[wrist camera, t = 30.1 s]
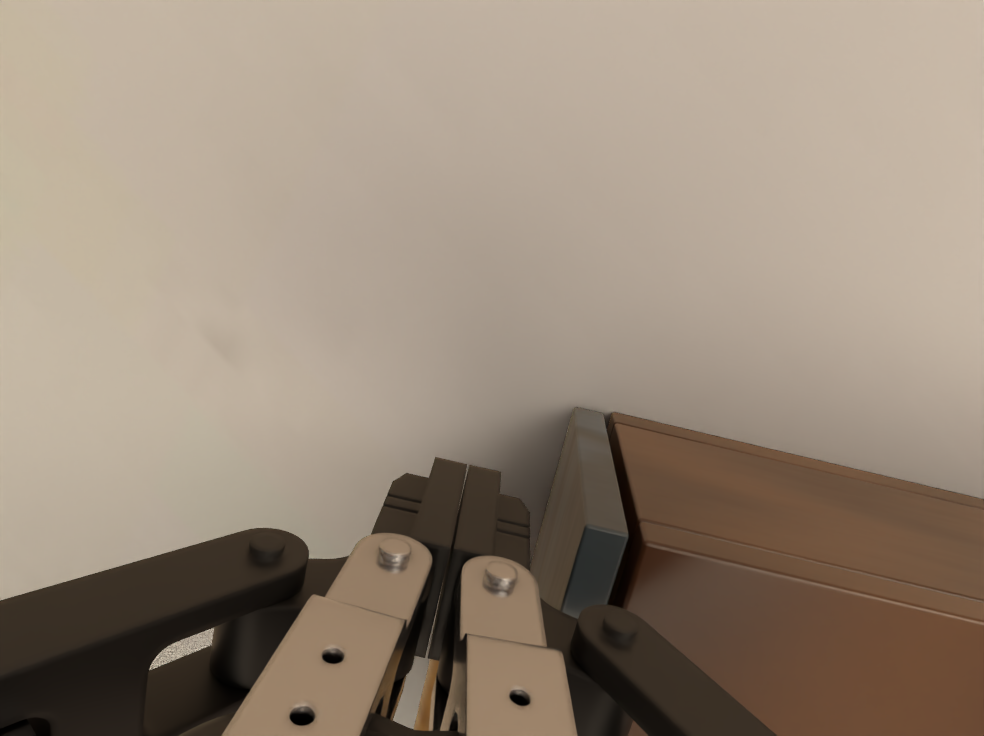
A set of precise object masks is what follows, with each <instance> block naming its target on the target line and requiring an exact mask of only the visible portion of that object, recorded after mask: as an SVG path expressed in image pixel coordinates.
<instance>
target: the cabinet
mask: <svg viewBox="0 0 984 736" xmlns="http://www.w3.org/2000/svg"><path fill="white" fill-rule="evenodd" d="M607 434H608V439H609V443H610V448H611V453H612V458H613V462H614V467H615V472H616V477H617V482H618V486H619V491H620V496H621V501H622V505H623V510H624V515H625V520H626V524H627V529H628V534H629V538H628V541H627V544H626V546H627V551H628V554H629V555H628V558H627V561H626V564H625V567H624V570H623V574H622V577H621V580H620V583H619V586H618V589H617V592H616V595H615V599H614V602H613V605H612V606H617V607H620V608H623V609H625V610H628V611H630V612H632V613H634V614H636V615H637V616H639V617H640V618H642V619H643V620H644V621H646V622H647V623H648V624H649V625H650V626H651V627H653V628H654V629H655V630H656V631H657V632H658V633H659V634H661V635H662V636H663V637H664V638H665V639H666V640H668V641H669V642H670V643H671V644H672V645H673V646H675V647H676V648H677V649H678V650H679V651H680V652H681V653H683V654H684V655H685V656H686V657H687V658H688V659H690V660H691V661H692V662H693V663H694V664H695V665H696V666H698V667H699V668H700V669H701V670H702V671H703V672H705V673H706V674H707V675H708V676H709V677H710V678H711V679H713V680H714V681H715V682H716V683H717V684H718V685H720V686H721V687H722V688H723V689H724V690H725V691H726V692H728V693H729V694H730V695H731V696H732V697H733V698H735V699H736V700H737V701H738V702H739V703H740V704H741V705H743V706H744V707H745V708H746V709H747V710H748V711H750V712H751V713H752V714H753V715H754V716H755V717H756V718H758V719H759V720H760V721H761V722H762V723H763V724H765V725H766V726H767V727H768V728H769V729H770V730H772V731H773V732H774V733H775V734H776V735H777V736H984V499H979V498H975V497H971V496H967V495H962V494H958V493H954V492H950V491H946V490H941V489H937V488H933V487H929V486H924V485H920V484H916V483H912V482H907V481H903V480H899V479H895V478H891V477H886V476H882V475H878V474H874V473H869V472H865V471H861V470H857V469H853V468H848V467H844V466H840V465H836V464H831V463H827V462H823V461H819V460H814V459H810V458H806V457H802V456H798V455H793V454H789V453H785V452H781V451H776V450H772V449H768V448H764V447H759V446H755V445H751V444H747V443H743V442H738V441H734V440H730V439H726V438H721V437H717V436H713V435H709V434H705V433H700V432H696V431H692V430H688V429H683V428H679V427H675V426H671V425H666V424H662V423H658V422H654V421H650V420H645V419H641V418H637V417H633V416H628V415H624V414H620V413H616V412H613V413H612V414H611V417H610V421H609V424H608V428H607ZM628 736H648V735H647V734H646V733H645V732H644V731H643V730H642V729H641V728H640V727H639V725H638V724H637V723H636V722H635V721H634V720H633V723H632V726H631V729H630V731H629V734H628Z"/></svg>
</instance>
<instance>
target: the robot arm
mask: <svg viewBox="0 0 984 736" xmlns="http://www.w3.org/2000/svg"><path fill="white" fill-rule="evenodd" d="M466 468H467V464H464V463H459V462H455V461H450V460H446V459H442V458H437V457H435V460H434V463H433V466H432V470H431V473H430V476H429V478H426V477H422V476H417V475H413V474H409V473H406V474H404V475H403V476H401V477H399V478H398V479H396V480H395V481H393V482H392V485H391V487H390V490H389V492H388V495H387V497H386V499H385V502H384V504H383V506H382V509H381V511H380V514H379V516H378V518H377V521H376V523H375V526H374V528H373V530H372V533H371V535H369V536H366V537H364V538H362V539H361V540H360V541H359V542H358V543H357V544H356V546H355V548H354V549H353V551H352V552H351V554H350V556H347V557H343V558H336V559H308V556H309V550H308V547H307V545H306V544H305V543H304V541H303V540H302V539H300V538H299V537H297V536H296V535H294V534H292V533H289V532H286V531H283V530H279V529H272V528H255V529H249V530H245V531H241V532H238V533H234V534H231V535H227V536H224V537H220V538H217V539H213V540H210V541H206V542H203V543H199V544H196V545H192V546H189V547H185V548H182V549H178V550H175V551H171V552H168V553H164V554H161V555H157V556H154V557H151V558H147V559H144V560H140V561H137V562H133V563H130V564H126V565H123V566H119V567H116V568H112V569H109V570H105V571H102V572H98V573H95V574H91V575H88V576H84V577H81V578H77V579H74V580H70V581H67V582H63V583H60V584H57V585H53V586H50V587H46V588H43V589H39V590H36V591H32V592H29V593H25V594H22V595H18V596H15V597H11V598H8V599H4V600H1V601H0V736H628V734H629V731H630V729H631V726H632V723H633V720H634V721H635V722H636V723H637V724H638V725H639V727H640V728H641V729H642V730H643V731H644V732H645V733H646V734H647V735H648V736H777V735H776V734H775V733H774V732H773V731H772V730H770V729H769V728H768V727H767V726H766V725H765V724H763V723H762V722H761V721H760V720H759V719H758V718H756V717H755V716H754V715H753V714H752V713H751V712H750V711H748V710H747V709H746V708H745V707H744V706H743V705H741V704H740V703H739V702H738V701H737V700H736V699H735V698H733V697H732V696H731V695H730V694H729V693H728V692H726V691H725V690H724V689H723V688H722V687H721V686H720V685H718V684H717V683H716V682H715V681H714V680H713V679H711V678H710V677H709V676H708V675H707V674H706V673H705V672H703V671H702V670H701V669H700V668H699V667H698V666H696V665H695V664H694V663H693V662H692V661H691V660H690V659H688V658H687V657H686V656H685V655H684V654H683V653H681V652H680V651H679V650H678V649H677V648H676V647H675V646H673V645H672V644H671V643H670V642H669V641H668V640H666V639H665V638H664V637H663V636H662V635H661V634H659V633H658V632H657V631H656V630H655V629H654V628H653V627H651V626H650V625H649V624H648V623H647V622H646V621H644V620H643V619H642V618H640V617H639V616H637V615H636V614H634V613H632V612H630V611H628V610H625V609H623V608H620V607H617V606H612V605H605V604H597V605H591V606H589V607H586V608H585V609H583V610H582V611H581V613H580V615H579V617H578V619H577V618H574V617H572V616H570V615H568V614H565V613H563V612H561V611H559V610H557V609H555V608H554V607H552V606H550V605H549V604H548V603H546V602H545V601H544V600H543V599H541V598H540V596H539V589H538V584H537V581H536V579H535V577H534V576H533V574H532V573H531V572H530V539H529V538H530V528H529V527H530V512H529V511H528V509H527V508H526V506H525V505H524V503H523V502H522V501H521V499H519V498H515V497H510V496H506V495H502V494H500V483H501V472H499V471H495V470H490V469H486V468H482V467H477V466H473V465H469V468H468V472H467V476H466V480H465V485H464V489H463V484H464V478H465V473H466ZM462 489H463V493H462ZM461 494H462V497H461ZM460 499H461V502H460ZM459 504H460V506H459ZM458 509H459V510H458ZM442 583H443V584H442ZM441 587H442V589H441ZM440 592H441V594H440ZM439 596H440V599H439ZM438 600H439V604H438ZM437 604H438V609H437ZM436 609H437V614H436V619H435V624H434V629H433V634H432V639H431V644H430V649H429V654H428V659H433V660H437V661H439V665H438V670H437V674H436V678H435V683H434V687H433V691H432V696H431V707H430V720H429V731H421V730H414V729H410V728H408V727H405V726H403V725H401V724H399V723H396V722H394V721H392V720H393V718H394V715H395V712H396V709H397V706H398V703H399V700H400V697H401V694H402V691H403V688H404V683H405V679H406V675H407V674H408V673H409V671H410V670H411V668H412V665H413V661H414V657H415V656H419V657H423V658H425V655H426V651H427V647H428V642H429V638H430V634H431V630H432V626H433V621H434V617H435V613H436ZM213 627H214V633H213V641H212V645H211V646H209V647H206V648H204V649H201V650H199V651H197V652H194V653H192V654H189V655H187V656H184V657H182V658H179V659H177V660H174V661H172V662H170V663H167V664H165V665H162V666H160V667H157V668H155V669H152V670H150V671H149V668H150V665H151V663H152V662H153V660H154V659H155V657H156V656H157V655H158V654H159V653H160V652H161V651H162V650H163V649H165V648H166V647H167V646H169V645H171V644H173V643H175V642H177V641H180V640H182V639H185V638H187V637H190V636H193V635H195V634H198V633H200V632H203V631H205V630H208V629H211V628H213Z"/></svg>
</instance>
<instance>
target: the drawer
mask: <svg viewBox="0 0 984 736" xmlns="http://www.w3.org/2000/svg"><path fill="white" fill-rule="evenodd" d="M628 538H629V534H628V529H627V524H626V520H625V515H624V510H623V505H622V501H621V496H620V491H619V486H618V482H617V477H616V472H615V467H614V462H613V458H612V453H611V448H610V443H609V439H608V434H607V429H606V424H605V420H604V415H603V414H602V413H599V412H595V411H591V410H587V409H582V408H578V407H575V408H574V409H573V412H572V416H571V419H570V423H569V427H568V430H567V434H566V438H565V441H564V445H563V449H562V452H561V456H560V459H559V463H558V467H557V470H556V474H555V478H554V481H553V485H552V489H551V492H550V496H549V500H548V503H547V507H546V511H545V514H544V518H543V522H542V525H541V529H540V533H539V536H538V540H537V544H536V547H535V551H534V554H533V558H532V562H531V565H530V572H531V573H532V574H533V576H534V577H535V579H536V581H537V584H538V589H539V596H540V598H541V599H543V600H544V601H545V602H546V603H548V604H549V605H550V606H552V607H554V608H555V609H557V610H559V611H561V612H563V613H565V614H568V615H570V616H572V617H574V618H577V619H578V617H579V615H580V613H581V611H582V610H583V609H585V608H586V607H589V606H591V605H597V604H605V605H613V602H614V599H615V595H616V592H617V589H618V586H619V583H620V580H621V577H622V574H623V570H624V567H625V564H626V561H627V558H628V555H629V554H628V551H627V546H626V544H627V541H628ZM438 665H439V661H437V660H433V659H430V662H429V666H428V670H427V674H426V679H425V683H424V687H423V691H422V696H421V700H420V704H419V708H418V713H417V717H416V721H415V725H414V730H421V731H429V720H430V707H431V696H432V691H433V687H434V683H435V678H436V674H437V670H438Z"/></svg>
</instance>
